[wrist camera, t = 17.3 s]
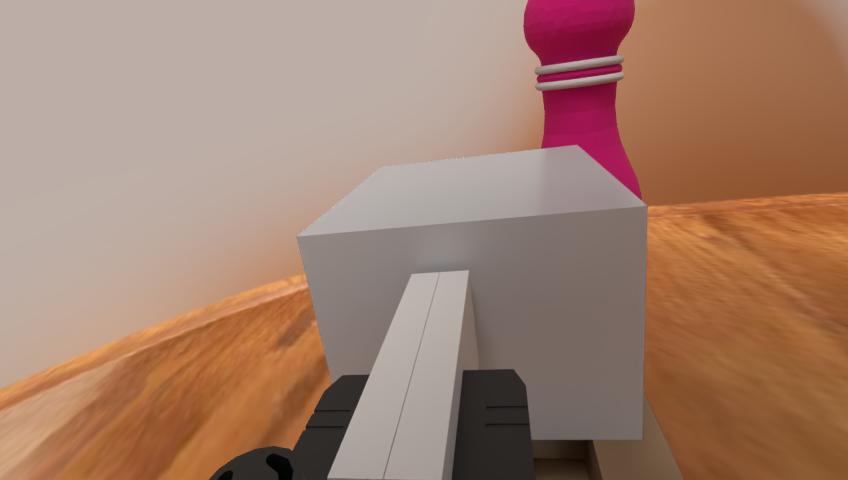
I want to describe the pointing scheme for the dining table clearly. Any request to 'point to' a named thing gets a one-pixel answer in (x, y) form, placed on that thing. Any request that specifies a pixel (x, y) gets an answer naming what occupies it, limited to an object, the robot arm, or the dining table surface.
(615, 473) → the roller bed
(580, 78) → the pepper mill
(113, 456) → the dining table surface
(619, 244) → the light grey cube
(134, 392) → the dining table surface
